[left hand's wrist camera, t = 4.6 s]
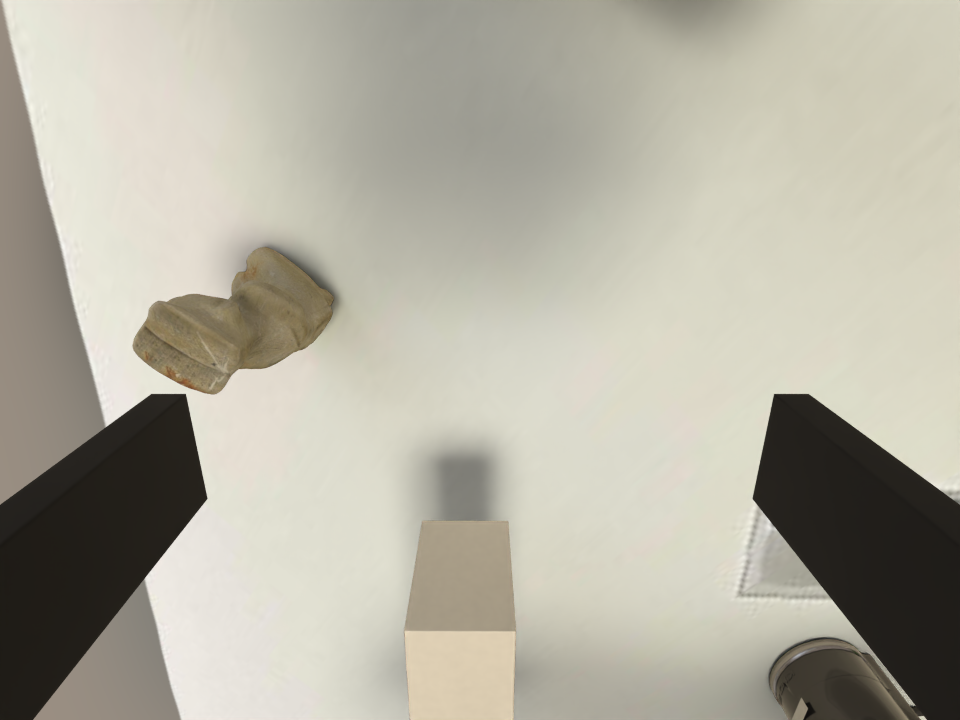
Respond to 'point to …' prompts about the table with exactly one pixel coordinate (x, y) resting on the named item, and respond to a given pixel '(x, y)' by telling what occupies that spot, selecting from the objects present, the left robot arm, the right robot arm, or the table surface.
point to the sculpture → (235, 325)
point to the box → (461, 623)
